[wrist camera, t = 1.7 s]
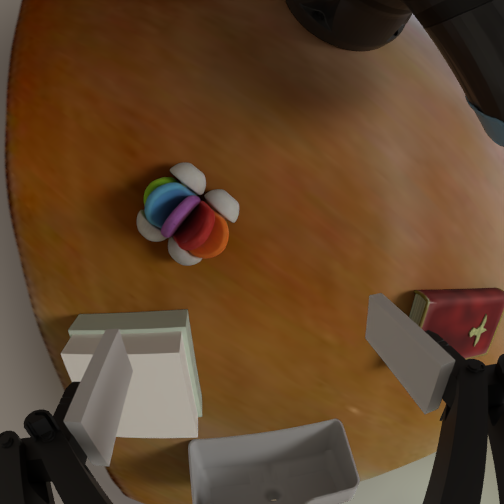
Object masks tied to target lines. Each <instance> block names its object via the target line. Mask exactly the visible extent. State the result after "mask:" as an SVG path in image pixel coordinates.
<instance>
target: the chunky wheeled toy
mask: <svg viewBox="0 0 504 504" xmlns="http://www.w3.org/2000/svg"><path fill="white" fill-rule="evenodd" d="M170 172H171V173H172V174H173V175H174V176H175V177H176V178H177V179H178V180H180V182H181V183H180V182H179V181H178V180H176V179H175V178H173V177H162V178H159V179H156V180H154V181H152V182H151V183H150V184H149V185H148V187H147V188H146V190H145V193H144V206H145V210H140V211H139V213H138V216H137V227H138V230H139V232H140V233H141V234H142V235H143V236H144V237H145V238H146V239H148V240H150V241H155V242H158V241H163V240H165V239H167V238H169V240H168V251H169V254H170V255H171V257H172V258H173V259H174V260H175V261H176V262H178V263H179V264H182V265H186V266H189V265H194V264H196V263H198V262H200V261H201V259H202V258H212V257H215V256H217V255H219V254H220V253H221V252H223V251H224V249H225V247H226V245H227V242H228V238H229V229H228V225H227V221H226V219H227V220H229V221H231V222H233V223H234V222H235V221H236V220H237V218H238V215H239V205H238V202H237V201H236V200H235V199H234V198H233V197H231V196H230V195H229V194H228V193H227V192H226V191H224V190H222V189H216V190H212V191H209V192H208V193H206V194H205V195H204V198H205V199H206V203H205V202H204V201H201V200H200V198H199V197H198V196H196V195H202V194H203V193H204V190H205V187H206V179H205V175H204V174H203V173H202V172H201V171H200V170H198V169H197V168H196V167H195V166H193V165H192V164H191V163H179V164H177V165H175V166H173V167H172V168H171V169H170Z"/></svg>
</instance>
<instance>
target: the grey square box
mask: <svg viewBox="0 0 504 504" xmlns="http://www.w3.org/2000/svg"><path fill="white" fill-rule="evenodd" d="M106 329H119V330H120V333H121V336H122V339H123V343H124V346H125V349H126V352H127V355H128V358H129V361H130V363H131V366H132V369H133V373H132V377H131V380H130V384H129V387H128V391H127V395H126V398H125V402H124V406H123V410H122V414H121V418H120V422H119V426H118V430H117V434H116V437H132V438H191V437H198V417H202V395H201V389H200V384H199V378H198V373H197V367H196V361H195V355H194V349H193V342H192V336H191V329H190V323H189V316H188V309H185V310H169V311H152V312H132V313H107V314H79V315H78V317H77V318H76V320H75V321H74V322H73V324H72V325H71V327H70V328H69V330H68V332H69V335H70V339H69V341H68V342H67V344H66V346H65V347H64V349H63V350H62V352H61V356H62V359H63V361H64V364H65V366H66V369H67V371H68V374H69V376H70V379H71V381H72V382H81V380H82V377H83V375H84V373H85V371H86V369H87V367H88V365H89V362H90V360H91V358H92V356H93V354H94V352H95V350H96V348H97V346H98V344H99V342H100V340H101V338H102V336H103V334H104V332H105V330H106Z"/></svg>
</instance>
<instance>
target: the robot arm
mask: <svg viewBox="0 0 504 504" xmlns="http://www.w3.org/2000/svg"><path fill="white" fill-rule="evenodd" d="M286 2H287V5H288V7H289V9H290V10H291V12H292V13H293V15H294V16H295V17H296V19H297V20H298V21H299V22H300V23H301V24H302V25H303V26H304V27H305V28H306V29H307V30H308V31H310V32H311V33H312V34H314V35H315V36H317V37H318V38H320V39H322V40H323V41H325V42H327V43H329V44H332V45H334V46H337V47H340V48H343V49H347V50H353V51H369V50H374V49H377V48H380V47H382V46H384V45H386V44H388V43H390V42H391V41H393V40H394V39H395V38H396V37H397V36H398V35H399V34H400V33H401V32H402V30H403V28H404V26H405V24H406V23H407V22H408V20H409V18H410V17H411V15H412V13H413V14H414V15H415V17H416V18H417V19H418V21H419V22H420V23H421V25H422V26H423V28H424V29H425V31H426V32H427V33H428V35H429V36H430V38H431V39H432V40H433V42H434V43H435V45H436V46H437V48H438V49H439V51H440V52H441V54H442V55H443V57H444V59H445V60H446V62H447V63H448V65H449V67H450V68H451V70H452V72H453V73H454V75H455V77H456V78H457V80H458V82H459V84H460V85H461V87H462V89H463V91H464V93H465V94H466V95H465V97H466V100H467V102H468V104H469V106H470V107H471V108H472V109H473V110H474V111H475V113H476V115H477V117H478V119H479V120H480V122H481V124H482V126H483V128H484V130H485V132H486V133H487V135H488V136H489V137H490V138H491V139H492V140H493V141H494V142H495V143H497V144H498V145H500V146H503V147H504V0H286ZM365 338H366V340H367V341H368V342H369V343H370V345H371V346H372V347H373V348H374V350H375V351H376V352H377V353H378V355H379V356H380V357H381V358H382V360H383V361H384V362H385V363H386V365H387V366H388V367H389V369H390V370H391V371H392V372H393V374H394V375H395V376H396V377H397V379H398V380H399V381H400V383H401V384H402V385H403V386H404V388H405V389H406V390H407V392H408V393H409V394H410V395H411V397H412V398H413V399H414V401H415V402H416V403H417V405H418V406H419V407H420V409H421V410H422V411H423V412H424V414H427V413H429V412H431V411H434V410H436V409H438V408H439V406H440V403H441V400H442V399H443V400H444V401H445V402H446V406H445V409H444V411H443V414H442V416H441V418H440V421H442V419H443V421H442V427H441V432H440V437H439V443H438V447H437V452H436V457H435V461H434V465H433V469H432V473H431V477H430V481H429V485H428V488H427V491H426V495H425V498H424V501H423V504H480V501H481V494H482V488H483V481H484V473H485V464H486V452H487V437H488V436H489V440H490V444H491V450H492V454H493V460H494V465H495V472H496V478H497V485H498V491H499V501H500V504H504V354H502V355H501V356H499V359H498V362H497V364H493V365H486V366H485V365H484V363H483V362H481V361H479V360H476V359H467V360H466V359H465V358H464V357H463V356H461V355H460V354H459V353H458V352H457V351H456V350H455V349H454V348H453V347H452V346H450V345H449V344H448V343H447V342H446V341H444V339H443V338H442V337H440V336H439V335H438V334H436V333H434V332H432V331H430V330H427V331H423V330H422V329H421V328H420V327H419V326H418V325H417V324H416V323H415V322H414V321H412V320H411V319H410V318H409V317H408V316H407V315H406V314H405V313H404V312H402V311H401V310H400V309H399V308H398V307H397V306H396V305H395V304H393V303H392V302H391V301H390V300H389V299H388V298H387V297H385V296H384V295H383V294H382V293H379V294H374V295H369V306H368V317H367V328H366V337H365ZM132 373H133V369H132V366H131V363H130V361H129V358H128V355H127V352H126V349H125V346H124V343H123V339H122V336H121V333H120V330H119V329H106V330H105V332H104V334H103V336H102V338H101V340H100V342H99V344H98V346H97V348H96V350H95V352H94V354H93V356H92V358H91V360H90V362H89V365H88V367H87V369H86V371H85V373H84V375H83V377H82V380H81V382H72V383H71V384H70V385H69V386H68V387H67V388H66V390H65V392H64V394H63V396H62V397H63V398H61V400H60V404H59V405H58V406H57V409H56V411H55V413H54V415H53V416H52V415H51V414H50V413H49V411H46V410H36V411H33V412H32V413H30V414H29V415H28V416H27V417H26V418H25V421H24V428H25V429H26V430H27V432H28V434H29V435H30V436H31V437H30V438H22V439H20V438H19V436H18V435H17V434H16V433H15V432H13V431H5V432H3V433H1V434H0V504H55V502H54V498H53V493H52V488H51V483H50V482H51V481H52V482H53V484H54V486H55V488H56V490H57V492H58V494H59V495H60V497H61V499H62V501H63V503H64V504H113V503H112V502H111V500H110V499H109V498H108V496H107V495H106V494H105V492H104V491H103V489H102V488H101V487H100V485H99V484H98V482H97V481H96V479H95V478H94V476H93V475H92V473H91V472H90V470H89V469H88V467H87V466H86V465H85V462H86V459H87V458H88V459H89V460H90V462H91V463H92V464H93V465H99V466H109V465H110V461H111V456H112V452H113V447H114V443H115V438H116V434H117V430H118V426H119V422H120V418H121V414H122V410H123V406H124V402H125V398H126V395H127V391H128V387H129V384H130V380H131V377H132Z"/></svg>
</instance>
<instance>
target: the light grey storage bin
mask: <svg viewBox="0 0 504 504" xmlns="http://www.w3.org/2000/svg"><path fill="white" fill-rule="evenodd" d="M188 454H189V467H190V479H191V490H192V500H193V504H340V503H344V502H347V501H350V500H351V499H352V498H353V497H354V494H355V492H356V489H357V487H358V485H359V482H360V479H359V475H358V472H357V468H356V465H355V462H354V459H353V455H352V452H351V449H350V446H349V443H348V439H347V436H346V433H345V430H344V427H343V424H342V422H341V421H340V420H338V419H332V420H328V421H323V422H319V423H314V424H309V425H304V426H299V427H294V428H289V429H283V430H277V431H270V432H264V433H257V434H249V435H241V436H232V437H221V438H209V439H194V440H192V441H191V442H190V443H189V445H188ZM273 499H276V501H271V500H273Z"/></svg>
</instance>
